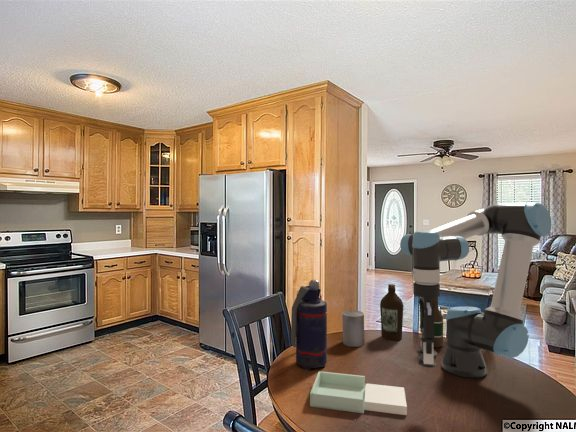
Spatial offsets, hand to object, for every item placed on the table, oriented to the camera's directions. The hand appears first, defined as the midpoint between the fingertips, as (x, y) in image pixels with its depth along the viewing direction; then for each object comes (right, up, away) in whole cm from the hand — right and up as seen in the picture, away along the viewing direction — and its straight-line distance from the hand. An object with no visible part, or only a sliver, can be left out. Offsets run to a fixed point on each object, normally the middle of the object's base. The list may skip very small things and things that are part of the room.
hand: (427, 359), depth 109 cm
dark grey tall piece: (0, -2, 0) cm, 2 cm away
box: (-26, -14, +6) cm, 30 cm away
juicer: (-30, -15, +49) cm, 59 cm away
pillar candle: (-12, -15, +54) cm, 58 cm away
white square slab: (-12, -14, +3) cm, 19 cm away
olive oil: (+7, -14, +62) cm, 64 cm away
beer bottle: (+23, -15, +53) cm, 59 cm away
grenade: (-34, -15, +31) cm, 48 cm away
